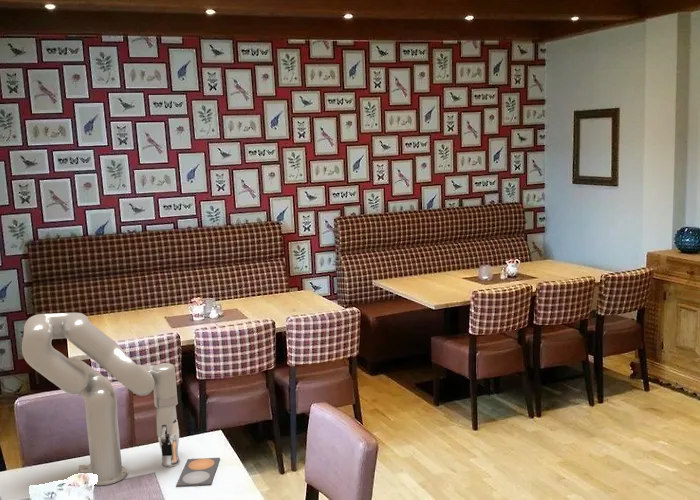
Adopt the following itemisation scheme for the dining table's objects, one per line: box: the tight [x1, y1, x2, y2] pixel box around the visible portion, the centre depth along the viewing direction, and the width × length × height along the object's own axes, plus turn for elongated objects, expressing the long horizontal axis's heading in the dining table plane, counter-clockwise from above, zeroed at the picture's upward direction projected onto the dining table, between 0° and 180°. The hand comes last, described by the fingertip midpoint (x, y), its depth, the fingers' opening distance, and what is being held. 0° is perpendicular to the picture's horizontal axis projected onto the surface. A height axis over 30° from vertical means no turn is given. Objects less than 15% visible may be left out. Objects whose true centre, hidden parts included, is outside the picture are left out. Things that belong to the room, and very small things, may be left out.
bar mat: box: [175, 457, 221, 488], centre depth 235 cm, size 11×19×1 cm, turn 2°
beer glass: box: [157, 419, 181, 468], centre depth 241 cm, size 7×7×15 cm
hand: (169, 450), depth 242 cm, fingers open, 7 cm apart
